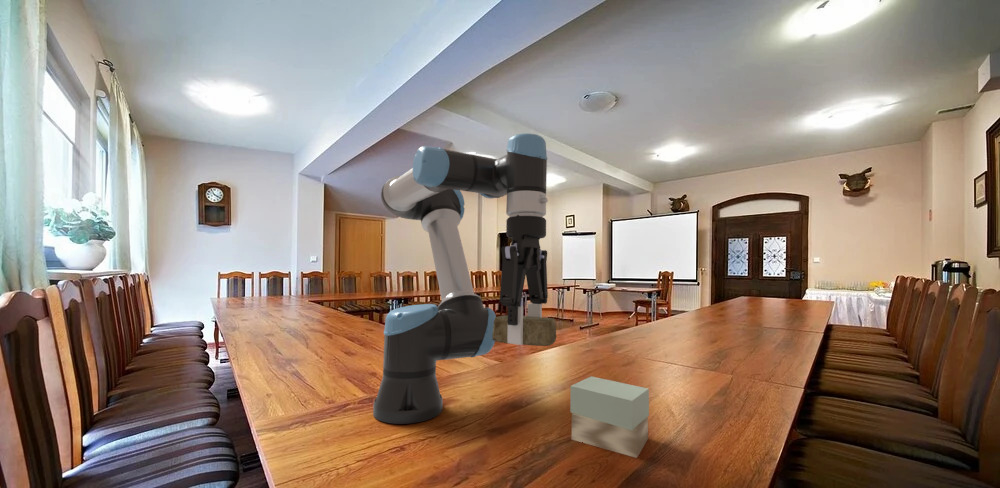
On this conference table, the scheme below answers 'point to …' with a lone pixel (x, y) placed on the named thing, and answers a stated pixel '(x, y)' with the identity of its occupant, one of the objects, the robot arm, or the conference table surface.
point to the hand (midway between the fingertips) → (525, 340)
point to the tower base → (610, 435)
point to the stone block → (528, 330)
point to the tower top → (610, 402)
